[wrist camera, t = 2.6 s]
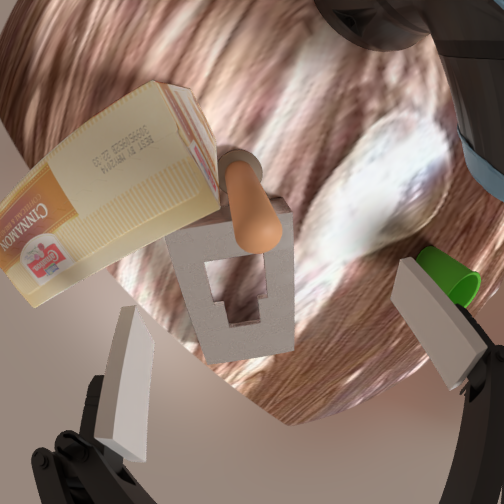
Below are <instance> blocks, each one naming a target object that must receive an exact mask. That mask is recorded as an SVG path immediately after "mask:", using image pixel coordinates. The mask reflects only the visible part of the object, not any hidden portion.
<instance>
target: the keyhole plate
mask: <svg viewBox="0 0 504 504" xmlns="http://www.w3.org/2000/svg"><path fill="white" fill-rule="evenodd" d="M269 201H270V203H271V205H272V207H273V209H274V211H275V213H276V215H277V217H278V218H279V220H280V223H281V225H282V237H281V239H280V241H279V243H278V244H277V245H276V246H275V247H274V248H273V249H271V250H270V251H268V252H265V253H263V257H264V268H265V279H266V290H267V294H263V295H257V299H258V308H259V316H260V319H257V320H251V321H245V322H239V323H232V324H229V322H228V318H227V313H226V309H225V305H224V301H220V302H214V301H213V297H212V293H211V289H210V285H209V281H208V277H207V272H206V268H205V264H204V262H207V261H213V260H219V259H225V258H232V257H238V256H244V255H251V254H253V253H249V252H246V251H244V250H243V249H241V248H240V247H239V245H238V244H237V242H236V239H235V234H234V228H233V222H232V217H231V211H230V205H228V206H221V207H220V209H219V210H217V211H215V212H213V213H211V214H209V215H207V216H205V217H203V218H201V219H198V220H196V221H194V222H192V223H190V224H188V225H186V226H184V227H182V228H180V229H178V230H176V231H174V232H172V233H170V234H168V235H166V236H165V239H166V243H167V246H168V250H169V253H170V256H171V260H172V263H173V266H174V270H175V273H176V276H177V279H178V282H179V285H180V289H181V292H182V295H183V298H184V301H185V304H186V307H187V310H188V312H189V315H190V318H191V321H192V324H193V327H194V329H195V332H196V335H197V338H198V340H199V343H200V346H201V348H202V351H203V354H204V356H205V359H206V362H207V364H208V365H209V364H217V363H224V362H231V361H238V360H245V359H251V358H257V357H263V356H268V355H274V354H279V353H284V352H289V351H294V243H293V212H292V211H291V209H290V208H289V206H288V204H287V203H286V201H285V200H284V198H276V199H269Z"/></svg>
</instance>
